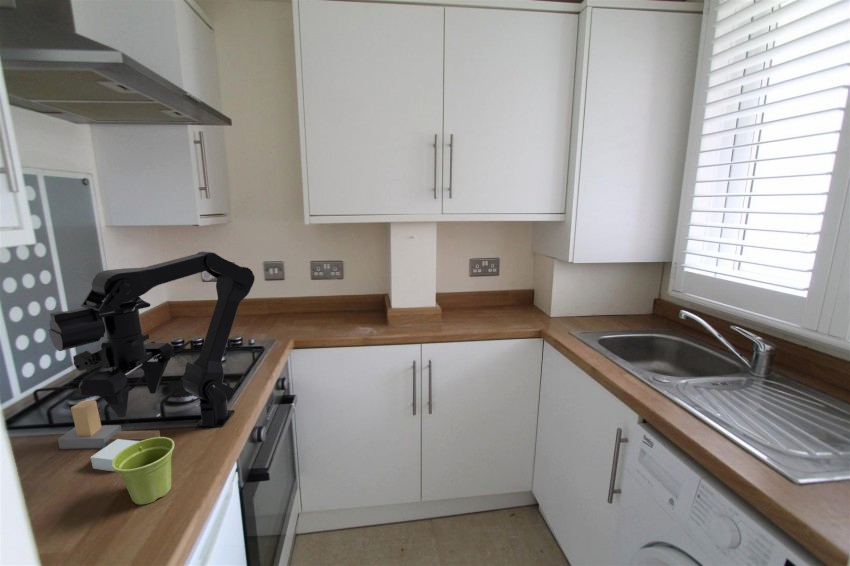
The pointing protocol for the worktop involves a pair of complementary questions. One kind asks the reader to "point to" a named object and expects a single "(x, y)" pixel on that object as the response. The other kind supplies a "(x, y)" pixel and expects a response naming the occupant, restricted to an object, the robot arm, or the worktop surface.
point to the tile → (109, 454)
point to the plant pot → (146, 468)
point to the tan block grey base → (87, 428)
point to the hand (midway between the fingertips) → (138, 404)
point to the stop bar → (134, 435)
